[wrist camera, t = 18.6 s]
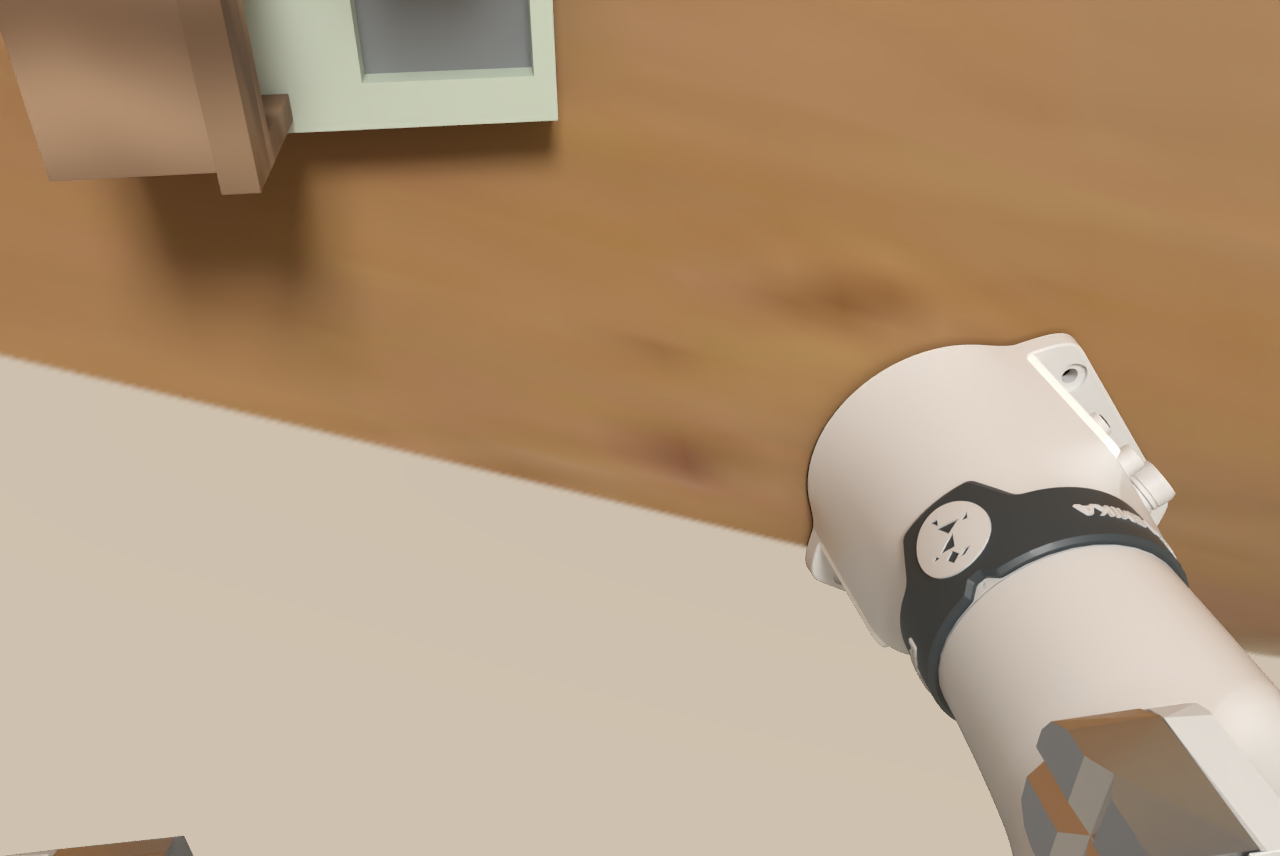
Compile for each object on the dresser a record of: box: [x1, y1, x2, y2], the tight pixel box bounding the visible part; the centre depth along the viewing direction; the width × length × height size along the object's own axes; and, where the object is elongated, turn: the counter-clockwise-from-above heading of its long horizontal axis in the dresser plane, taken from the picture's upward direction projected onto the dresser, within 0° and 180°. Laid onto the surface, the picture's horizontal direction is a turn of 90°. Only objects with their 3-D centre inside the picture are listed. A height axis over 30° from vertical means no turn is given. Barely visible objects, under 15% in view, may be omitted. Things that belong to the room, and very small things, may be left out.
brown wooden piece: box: [0, 0, 293, 195], centre depth 33 cm, size 9×7×8 cm
